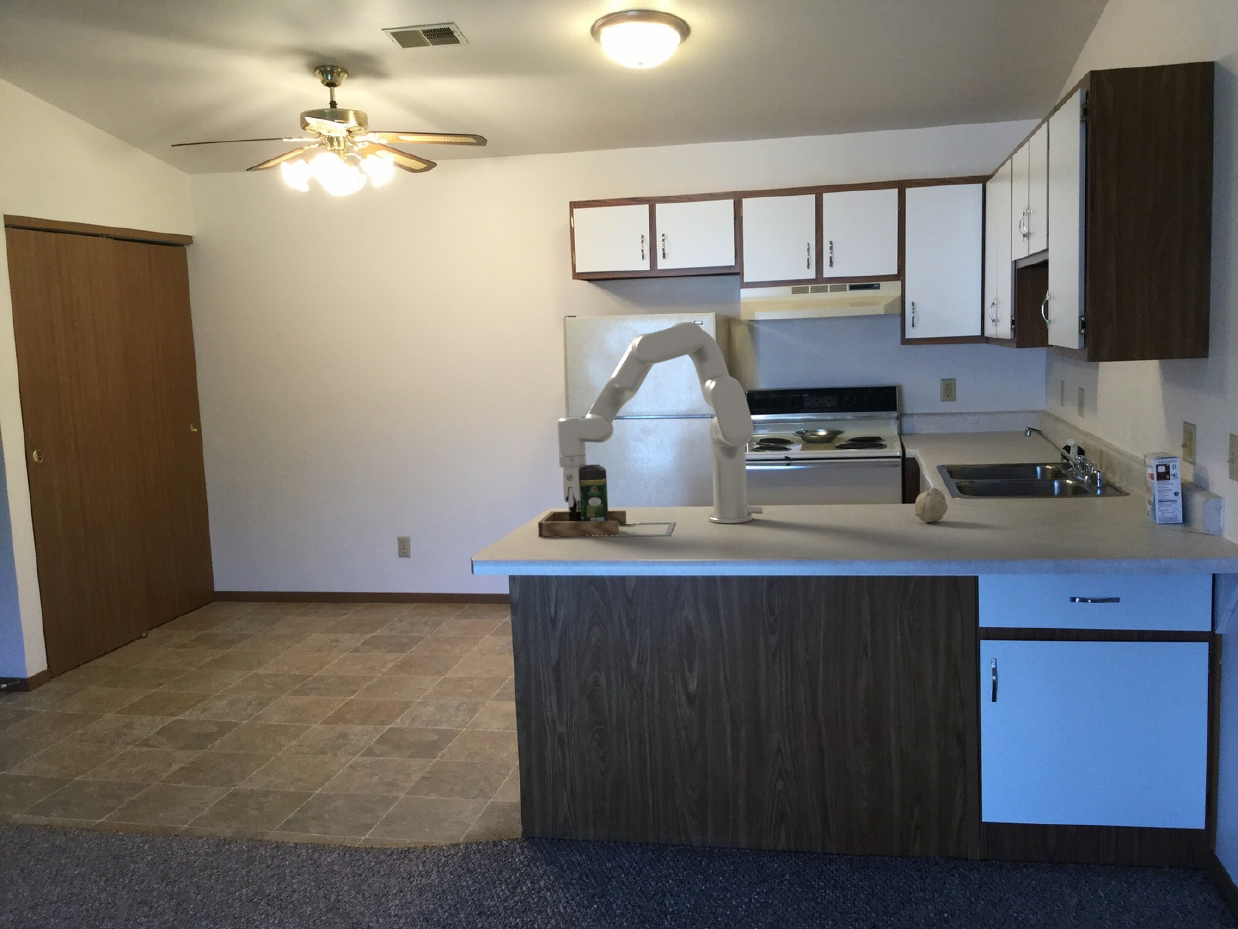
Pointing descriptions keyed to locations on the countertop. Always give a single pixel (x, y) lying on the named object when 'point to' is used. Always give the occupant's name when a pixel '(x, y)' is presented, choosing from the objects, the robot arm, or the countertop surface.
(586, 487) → the coffee jar
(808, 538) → the countertop surface
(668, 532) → the grey bay
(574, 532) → the wooden u-shaped frame
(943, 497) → the garlic bulb
